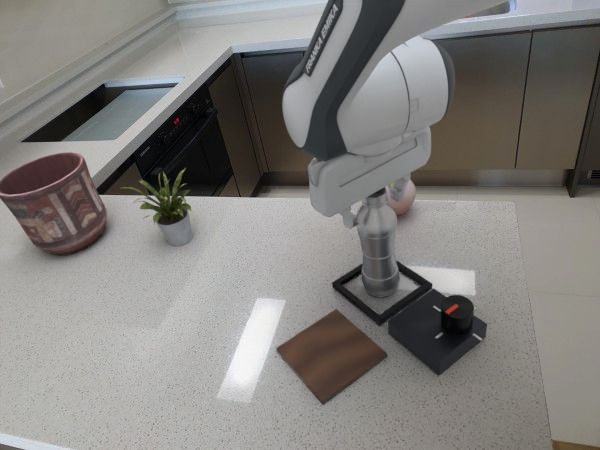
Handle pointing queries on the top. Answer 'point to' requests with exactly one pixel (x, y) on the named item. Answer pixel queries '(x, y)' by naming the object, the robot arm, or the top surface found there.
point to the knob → (457, 314)
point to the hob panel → (433, 333)
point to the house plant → (170, 211)
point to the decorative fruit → (404, 203)
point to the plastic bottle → (378, 244)
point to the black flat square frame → (395, 308)
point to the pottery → (55, 202)
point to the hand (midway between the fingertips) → (374, 211)
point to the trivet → (331, 355)
